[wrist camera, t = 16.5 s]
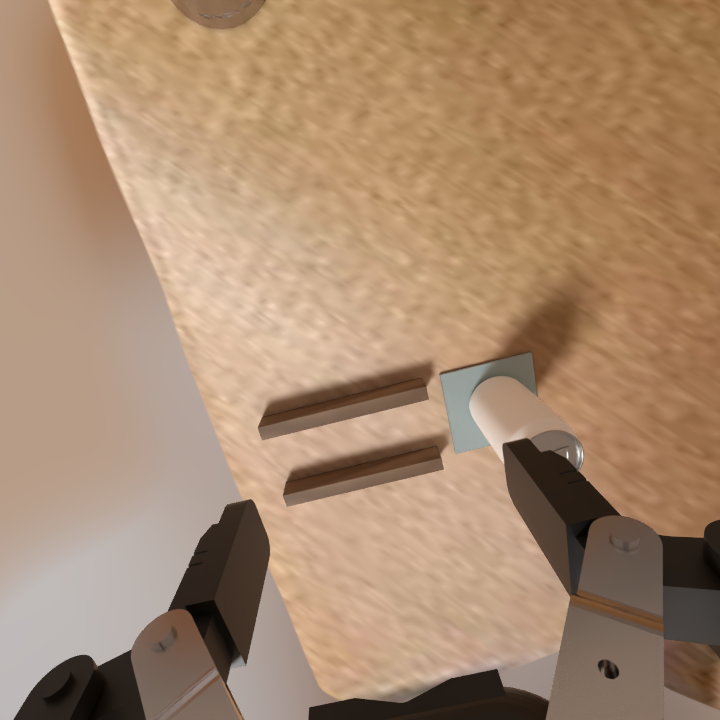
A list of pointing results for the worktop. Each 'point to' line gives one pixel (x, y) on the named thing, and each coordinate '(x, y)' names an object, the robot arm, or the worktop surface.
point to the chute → (362, 473)
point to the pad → (464, 383)
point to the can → (521, 419)
